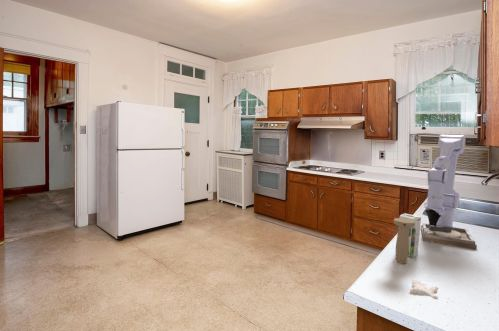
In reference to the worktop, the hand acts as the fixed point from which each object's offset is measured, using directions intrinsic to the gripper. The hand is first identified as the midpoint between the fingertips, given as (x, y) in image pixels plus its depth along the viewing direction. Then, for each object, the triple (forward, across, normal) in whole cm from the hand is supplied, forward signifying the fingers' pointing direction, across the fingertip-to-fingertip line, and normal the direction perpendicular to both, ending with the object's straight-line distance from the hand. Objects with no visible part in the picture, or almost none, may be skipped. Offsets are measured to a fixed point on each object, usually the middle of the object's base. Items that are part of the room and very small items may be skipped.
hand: (432, 226), depth 127 cm
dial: (+2, +2, +4) cm, 5 cm away
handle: (+4, +31, -23) cm, 39 cm away
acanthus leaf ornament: (+5, +49, -24) cm, 55 cm away
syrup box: (+4, +22, -18) cm, 29 cm away
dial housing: (+4, +2, +5) cm, 7 cm away
